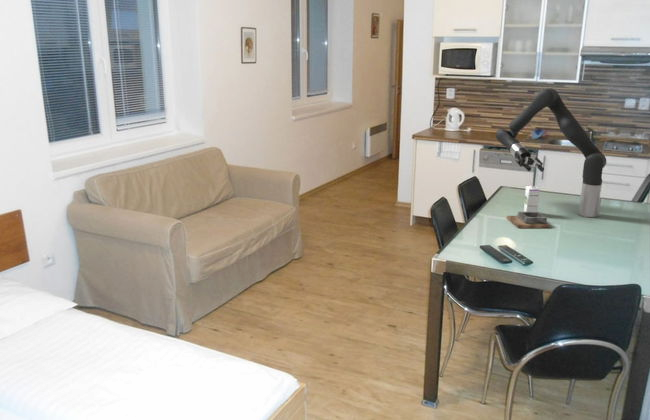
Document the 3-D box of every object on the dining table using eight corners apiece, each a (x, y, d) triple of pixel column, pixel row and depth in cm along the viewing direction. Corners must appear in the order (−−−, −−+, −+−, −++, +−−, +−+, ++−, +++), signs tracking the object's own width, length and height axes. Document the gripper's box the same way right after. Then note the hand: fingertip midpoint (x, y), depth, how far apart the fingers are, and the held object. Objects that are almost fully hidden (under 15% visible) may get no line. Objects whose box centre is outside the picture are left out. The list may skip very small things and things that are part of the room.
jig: (536, 218, 300) (537, 210, 299) (549, 228, 285) (550, 219, 283) (506, 218, 299) (507, 210, 298) (517, 228, 284) (518, 219, 283)
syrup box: (537, 215, 306) (540, 188, 302) (526, 215, 306) (529, 188, 302) (533, 212, 311) (536, 186, 307) (522, 211, 311) (525, 185, 307)
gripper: (512, 146, 310) (529, 163, 299) (533, 147, 316) (550, 164, 304) (506, 157, 315) (522, 175, 303) (527, 158, 320) (543, 176, 309)
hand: (536, 170), depth 304 cm, fingers open, 8 cm apart
